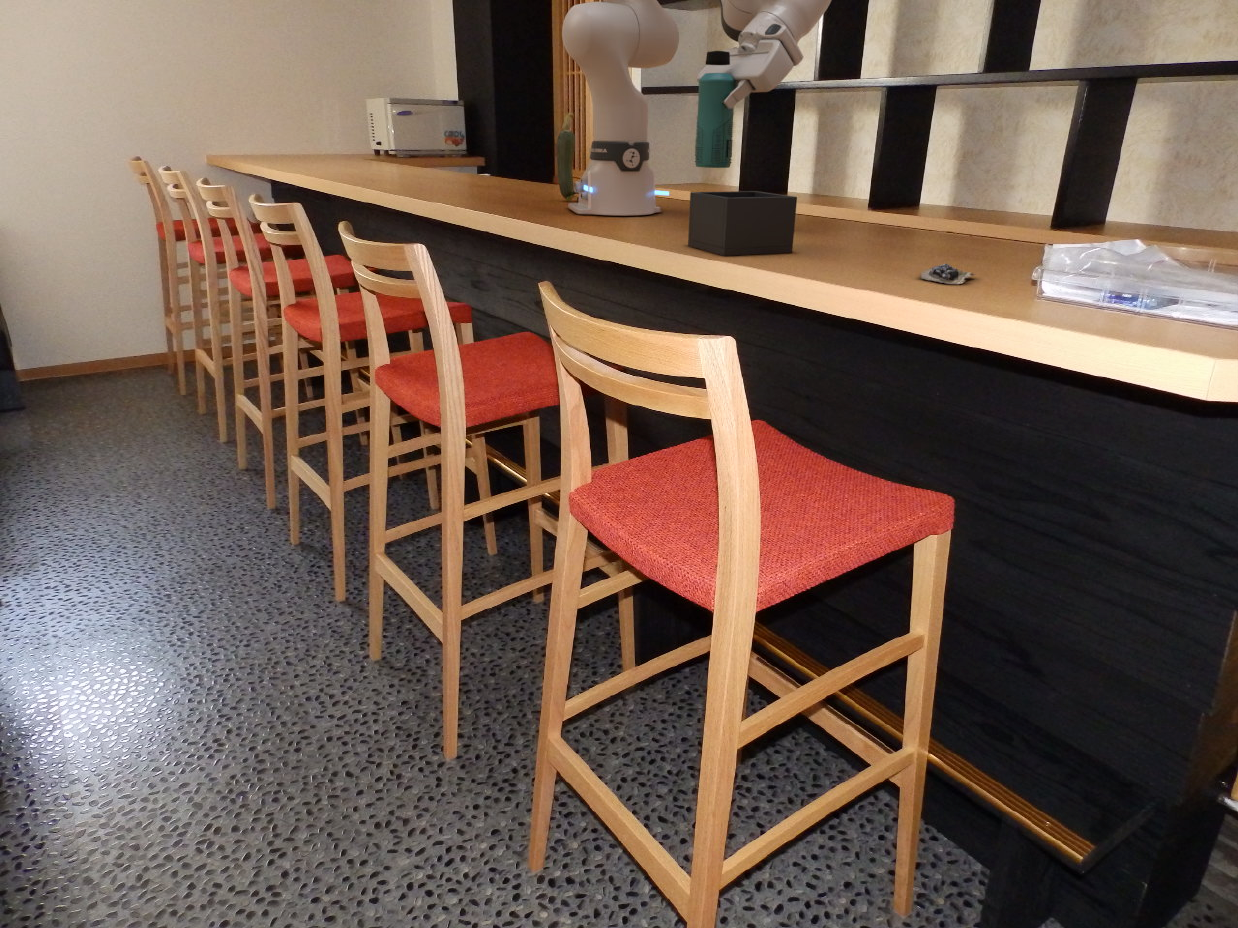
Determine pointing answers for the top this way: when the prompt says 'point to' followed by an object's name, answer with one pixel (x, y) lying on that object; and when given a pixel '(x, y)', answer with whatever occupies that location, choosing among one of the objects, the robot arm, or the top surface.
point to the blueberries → (945, 274)
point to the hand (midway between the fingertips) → (713, 106)
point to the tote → (741, 222)
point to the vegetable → (566, 158)
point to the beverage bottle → (714, 116)
